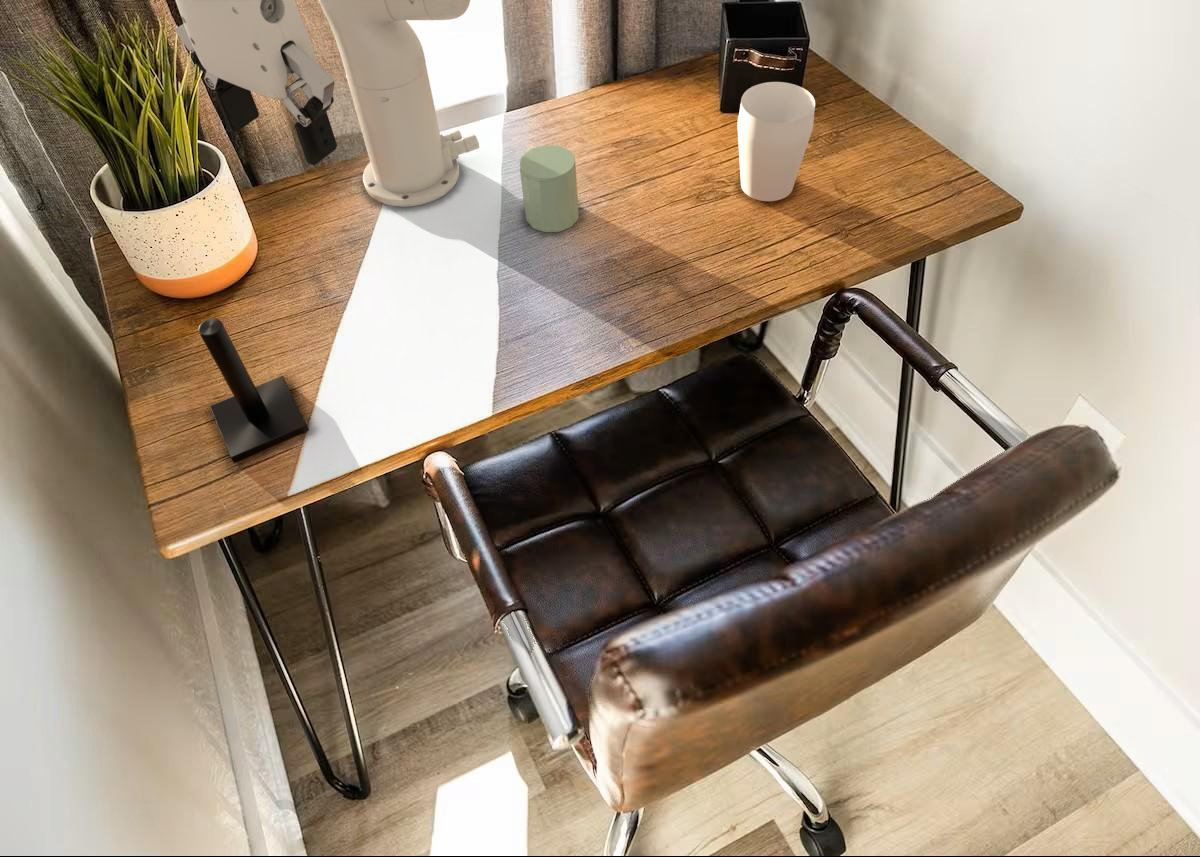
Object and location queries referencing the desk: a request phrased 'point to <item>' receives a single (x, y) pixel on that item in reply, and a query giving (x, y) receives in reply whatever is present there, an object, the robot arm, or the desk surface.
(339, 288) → the desk surface
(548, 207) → the upturned cup
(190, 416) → the desk surface
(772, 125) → the cup
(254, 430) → the peg
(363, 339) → the desk surface
